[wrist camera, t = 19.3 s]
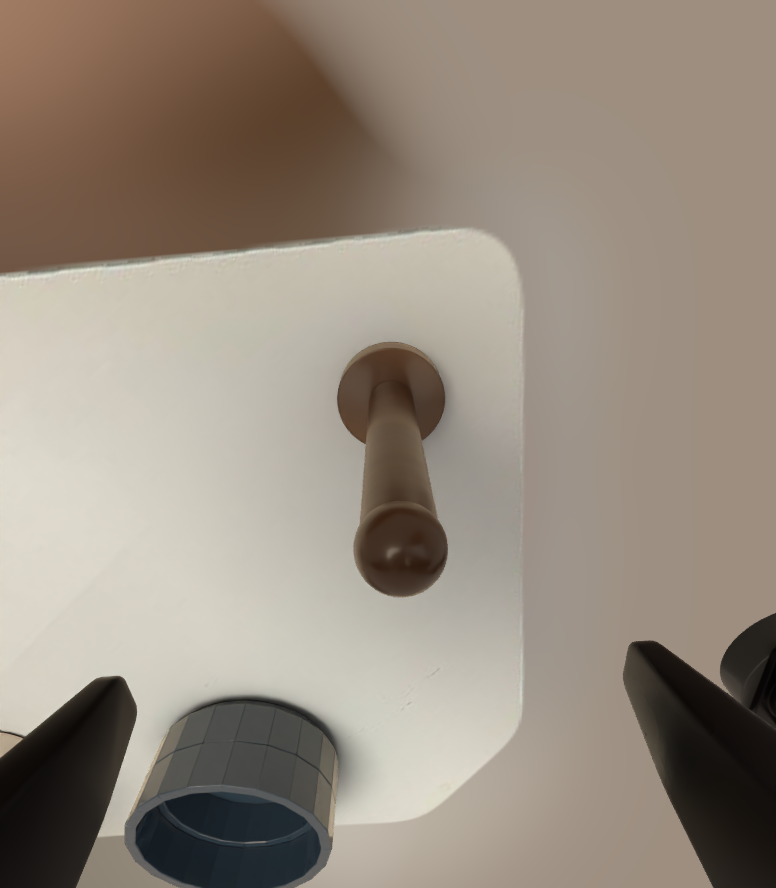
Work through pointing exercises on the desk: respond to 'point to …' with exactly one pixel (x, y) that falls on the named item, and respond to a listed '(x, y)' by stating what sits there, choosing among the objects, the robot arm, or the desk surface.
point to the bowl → (237, 800)
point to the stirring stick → (395, 466)
